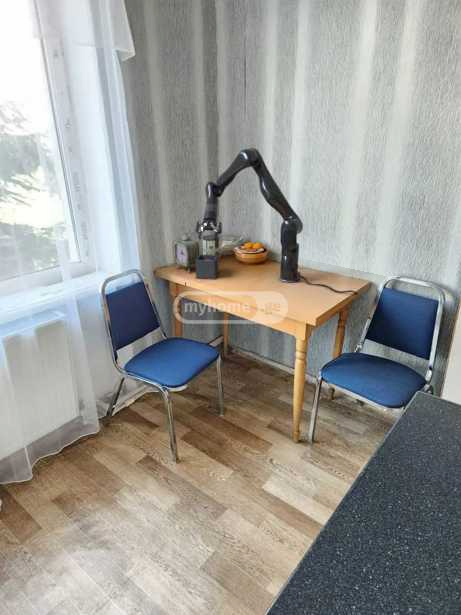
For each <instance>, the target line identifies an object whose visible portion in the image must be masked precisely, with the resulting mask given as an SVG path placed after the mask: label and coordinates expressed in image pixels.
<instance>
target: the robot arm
mask: <svg viewBox="0 0 461 615" xmlns="http://www.w3.org/2000/svg"><path fill="white" fill-rule="evenodd" d="M249 168H252V170H253V171H254V173H255V174H256V177H257V180H258V186H259V192H260V193H261V195H262V197H263V198H264V200H265V202H266V203H267V204H268V205H269V206H270V207H271V208H272V209H274V210H275V211H276V212H277V213H278V214H279V215H280V217H281V218H282V220H283V221H282V223H281V225H280V231H279V233H280V237H279V238H280V240H279V242H280V245H281V250H280V251H281V252H280V270H279V280H280V281H281V282H284V283H294V282H295V283H297V282H298V281H301V279H303V280H304V281H305V283H306V284H307V285H311V286H319V287H320V286H321V287H326V288H328V289H329V290H331V291H333V292H335V293H340V294H342V293H343V294H344V293H354V294H355V295H359V293H358V292H357V291H354V290H337V289H334V288H332V287H331V286H330V285H326V284H321V283H310V282H308V279H307V278H306V277H305V276H302V274H301V271H299V257H300V243H299V242H298V235H299V234H301V233H302V232H303V230H304V223H303V221H302V219H301V218H300V216H299V215H298V214H297V213H296V211H295V210H294V209H293V208H292V206H291V205H290V203H289V202H288V200H287V198H286V197H285V195H284V193H283V191H282V189H281V188H280V186H279V185H278V183H277V182H276V181H275V179H274V177H273V175H272V173H271V172H270V170H269V168H268V167H267V165H266V162H265V161H264V158H263V156H262V154H261V153H260V151H259V150H258V149H257V148H256V147H248V148H244V149H241V150H240V151H239V152H238V154H237V155H236V156H235V157H234V159H233V161H232V162H231V163H230V164H229V166H228V167H227V168H226V169H224V171H223V172H222V173H221V174H220V175H218V176H217V178H216V179H215V182H214V181H212V180H210V181H208V182H207V183H206V184H205V188H204V192H205V200H206V202H205V208H204V212H203V221H202V222H201V221H199V220H198V221H197V222H196V226H195V231H196V232H195V233H197V239H199V240H201V241H202V234H203V233H204V232H205V231H211V232H212V231H213V232H214V235H215V237H214V239H215V240H216V239H217V238H218V236H219V234H220V235H221V234H222V233H223V224H222V222H221V221H219V222H218V217H219V216H218V215H219V204H220V200H219V198H221V197H222V196H223V194H224V192H225V190H226V189H227V188H228V187H229V186H230V185H231V184H233V182H234V180H236V177H237V175H238V174H239V173H240V172H242V171H244V170H245V169H249ZM217 227H218V229H217Z"/></svg>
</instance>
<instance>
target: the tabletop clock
mask: <svg viewBox="0 0 461 615" xmlns="http://www.w3.org/2000/svg"><path fill="white" fill-rule="evenodd" d="M183 229H185V230H187V232H186V231H184V232H183ZM180 231H181V234H182V236H180V239H175V240H173V241H172V256H173V257H172V258H173V261H174V263H175V264H177V266H176V269H180V268H181V267H184V268H187V267H188V270H187V273H188V274H190V273H191V269H192V266H194V265H195V266H196V259H197V257H198V256H199V255H200V244H199V242H198V241H196V240H193V239H191V237H190V236H189V234H190V231H189V229H188V227H185V226H182V227H181V228H180Z"/></svg>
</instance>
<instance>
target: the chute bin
mask: <svg viewBox="0 0 461 615" xmlns="http://www.w3.org/2000/svg"><path fill="white" fill-rule="evenodd" d="M218 275H219V260H218V255H203V254H199V256H198V257H197V259H196V264H195V278H196V279H198V280H199V279H200V280H216V278H217V276H218Z"/></svg>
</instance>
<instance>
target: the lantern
mask: <svg viewBox="0 0 461 615" xmlns="http://www.w3.org/2000/svg"><path fill="white" fill-rule="evenodd" d="M214 237H215V234H206V235H203V236H201V240H202V255H218V261H219V260H220V236H219V235H218V238H217V239H216V240H215V239H214Z"/></svg>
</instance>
